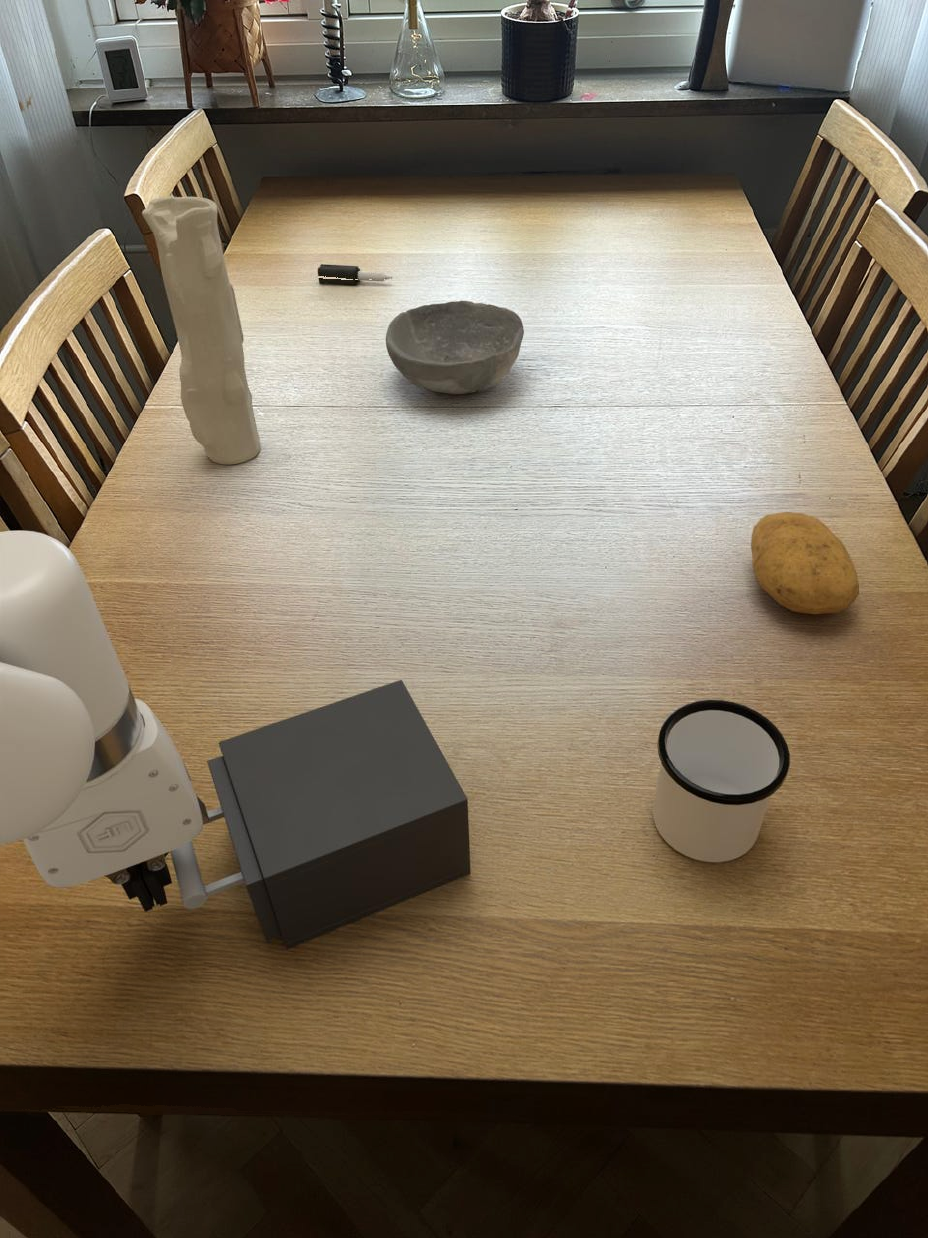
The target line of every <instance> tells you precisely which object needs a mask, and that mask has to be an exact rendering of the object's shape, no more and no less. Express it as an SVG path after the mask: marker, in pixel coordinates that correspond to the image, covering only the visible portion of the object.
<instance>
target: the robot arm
mask: <svg viewBox="0 0 928 1238" xmlns="http://www.w3.org/2000/svg"><path fill="white" fill-rule="evenodd" d="M191 780H192V779H191V776H190V773H189V770H188V769H187V767H186V765H185V762H184V760H183V758H182V756H181V754H180V752H179V750H178V748H177V746H176V744H175V743H174V741H173V740H172V737H171V736H170V734H169V732H168V731H167V729H166V728H165V727H164V725H163V723H162V722H161V720H160V719H159V718H158V717H157V715H156V714H155V713H154V712H153V710H152V709H151V708H150V707H149V706H148V705H147V704H146V703H145V702H144V701H142V700H141V699H139V698H135V696H134V693H133V692H132V689H131V686H130V684H129V682H128V680H127V677H126V674H125V672H124V670H123V667H122V664H121V663H120V660H119V657H118V655H117V653H116V650H115V648H114V645H113V642H112V640H111V638H110V635H109V633H108V630H107V628H106V625H105V622H104V620H103V618H102V615H101V614H100V611H99V608H98V606H97V603H96V601H95V598H94V596H93V594H92V591H91V589H90V587H89V584H88V582H87V579H86V577H85V574H84V572H83V570H82V568H81V566H80V564H79V562H78V560H77V558H76V556H75V555H74V554H73V552H72V551H71V550H70V549H69V548H68V547H67V546H66V545H65V544H64V543H62V542H61V541H59V540H58V539H56V538H54V537H52V536H49V535H47V534H45V533H43V532H37V531H33V530H5V531H0V846H4V845H9V844H13V843H15V842H19V841H23V844H24V845H25V848H26V850H27V852H28V854H29V856H30V858H31V859H32V862H33V864H34V867H35V868H36V870H37V871H38V873H39V875H40V877H41V878H42V879H43V881H44V882H45V883H46V884H47V885H49V886H50V887H52V888H56V889H57V888H59V889H65V888H72V887H76V886H80V885H83V884H85V883H88V882H91V881H95V880H97V879H99V878H100V879H101V878H103V877H104V878H106V877H107V879H109V881H110V882H111V883H112V884H113V885H121V887H122V889H123V891H124V892H125V894H126V897H127V898H128V900H132V899H135V898H137V899H138V901H139V903H140V905H141V907H142V909H143V911H144V913H147V912H149V911H152V910H153V908H154V907H156V906H160V907H162V906H164V905H167V904H169V902H168V898H167V894H166V890H165V887H167V886H169V885H172V884H173V880H172V875H171V873H170V869H169V866H168V864H167V859H166V857H167V856H168V855H169V854H170V851H172V850H174V849H177V848H179V847H181V846H184V845H186V844H187V843H189V842H191V841H192V842H193V841H194V840H195V839H196V838H197V837H198V836H199V835H200V834H201V833H202V832H203V829H204V825H206V823H207V822H208V821H209V817H208V813H207V812H208V810H207V807H206V804H205V803H204V802H203V801H202V800H201V798H199V796H198V795H197V794H196V791H195V788H194V786H193V784H192V782H191ZM207 824H208V823H207Z"/></svg>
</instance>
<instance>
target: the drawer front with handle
mask: <svg viewBox="0 0 928 1238" xmlns="http://www.w3.org/2000/svg"><path fill="white" fill-rule="evenodd" d="M206 762H207V766H208V769H209V773H210V777H211V779H212V782H213V785H214V788H215V792H216V794H217V798H218V802H219V804H220V806H219V807H216V808H214V809H211V810H207V813H208V817H209V821H208V822H207V823H206V824H209V823H212V822H215V821H218V820H221V819H222V818H224V820H225V824H226V827H227V830H228V834H229V836H230V840H231V843H232V846H233V850H234V852H235V856H236V859H237V862H238V865H239V868H240V871H239V872H237V873H234V874H232V875H229V876H227V877H224V878H221V879H218V880H216V881H213V882H211V883H208V884H206V885H204V879H203V877H202V873H201V870H200V866H199V862H198V859H197V855H196V851H195V847H194V845H193V840H192V841H191V842H189V843H187V844H186V845H184V846H181V847H179V848H177V849H174V850H172V851H170V852H169V854H170V856H171V857H170V858H171V861H172V865H173V868H174V873H175V877H176V880H177V885H178V888H179V892H180V896H181V901H182V904H183V907H184V908H185V909H188V910H194V909H199V908H200V907H202V906H204V905H205V904H206V903H207V900H208V897H211V896H214V895H215V894H219V893H222V892H224V891H226V890H229V889H231V888H234V887H236V886H237V887H238V886H239V885H242V884H244V885H245V888H246V890H247V893H248V896H249V899H250V902H251V904H252V908H253V910H254V913H255V916H256V918H257V921H258V923H259V926H260V930H261V933H262V936H263V938H264V941H265V943H267V944H268V943H270V942H273V941H274V940H277V939H280V938H283V937H282V934H281V931H280V928H279V925H278V922H277V919H276V915H275V912H274V909H273V906H272V903H271V900H270V897H269V894H268V891H267V888H266V885H265V882H264V879H263V876H262V873H261V870H260V867H259V864H258V861H257V858H256V855H255V852H254V849H253V846H252V843H251V839H250V836H249V833H248V830H247V827H246V824H245V821H244V818H243V815H242V812H241V809H240V806H239V803H238V800H237V797H236V794H235V791H234V788H233V785H232V782H231V779H230V776H229V773H228V770H227V767H226V764H225V761H224V758H223V755H220V756H218V757H214V758H212V759H209V760H207V761H206ZM206 824H205V825H206Z"/></svg>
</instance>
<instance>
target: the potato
mask: <svg viewBox="0 0 928 1238" xmlns="http://www.w3.org/2000/svg"><path fill="white" fill-rule="evenodd" d="M750 549H751V557H752V568H753V573H754V575H755V580H756V581H757V582H758V584H759V586H760V587H761V589H762V590H764V591H765V592H766V593H767V594H768V595H769V596H771V597H772V598H773V599H774V600H775V601H776V602H777V604H779V605H780V606H783V607H785V608H787V609H789V610H790V611H792V612H795V613H801V614H808V615H809V614H810V615H820V614H821V615H822V614H831V613H840V612H842V611H843V610H844V609H846V608H847V607H849V606H850V605H852V604H853V603H855V601H856V600H857V598H858V597H859V596H860V584H859V577H858V571H857V570H856V567H855V564H854V562H853V560H852V558H851V556H850V554H849V552H848V550H847V549H846V547H845V545H844V543H843V542H842V540H841V539H840V538H839V537H838V536H837V535H836V534H834V532H833V531H832V530H831V529H830V528H829V526H827V525H826V524H825V523H824V522H823V521H821V520H820V519H819V518H818V517H814V516H811V515H809V514H804V513H803V512H791V511H784V512H777V513H771V514H766V515H764V516H762V517H761V518H760V519H759V520H758V522H757V523H756V524H755V525H754V526H753V528H752V532H751V541H750Z"/></svg>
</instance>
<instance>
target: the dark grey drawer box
mask: <svg viewBox="0 0 928 1238" xmlns="http://www.w3.org/2000/svg"><path fill="white" fill-rule="evenodd" d="M218 745H219V750H220V751H221V754H222V755H221V756H223V758H224V761H225V764H226V767H227V770H228V773H229V776H230V779H231V782H232V785H233V788H234V791H235V794H236V797H237V800H238V803H239V806H240V809H241V812H242V815H243V818H244V821H245V824H246V827H247V830H248V833H249V836H250V839H251V843H252V846H253V849H254V852H255V855H256V858H257V861H258V864H259V867H260V870H261V873H262V876H263V879H264V882H265V885H266V888H267V891H268V894H269V897H270V900H271V903H272V906H273V909H274V912H275V915H276V919H277V922H278V925H279V928H280V931H281V934H282V937H281V938H282V940H283V943H284V946H285V948H286V950H289V949H292V948H294V947H296V946H299V945H301V944H305V943H307V942H309V941H311V940H314V939H316V938H318V937H320V936H323V935H326V934H328V933H329V932H333V931H336V930H338V929H340V928H342V927H345V926H347V925H349V924H350V925H351V923H354V922H356V921H359V920H361V919H363V918H366V917H368V916H371V915H374V914H377V913H379V912H381V911H384V910H386V909H388V908H390V907H393V906H396V905H397V904H400V903H402V902H405V901H407V900H410V899H413V898H414V897H417V896H420V895H422V894H425V893H428V892H429V891H432V890H434V889H436V888H439V887H441V886H444V885H445V884H448V883H450V882H453V881H455V880H458V879H460V878H463V877H465V876H468V875H470V874H471V873H472V872H471V871H472V870H471V851H470V849H471V848H470V824H469V801H468V800H469V799H468V797H467V795H466V794H465V792H464V790H463V788H462V786H461V784H460V783H459V781H458V779H457V777H456V776H455V773H454V772H453V769H452V767H451V766H450V765H449V763H448V761H447V759H446V757H445V756H444V754H443V752H442V750H441V748H440V746H439V744H438V743H437V741H436V739H435V736H433V734H432V732H431V730H430V729H429V726H428V724H427V722H426V720H425V719H424V717H423V715H422V714H421V712H420V710H419V708H418V707H417V705H416V703H415V701H414V699H413V698H412V696H411V694H410V692H409V690H408V688H407V686H406V684H405V682H404V681H403V679H398V680H396V681H393V682H391V683H387V684H384V685H382V686H379V687H376V688H373V689H370V690H367V691H363V692H361V693H358V694H354V695H353V696H349V697H347V698H343V699H341V700H337V701H334V702H332V703H329V704H326V705H323V706H320V707H317V708H314V709H311V710H309V711H305V712H302V713H299V714H296V715H294V716H291V717H288V718H285V719H282V720H279V721H276V722H273V723H270V724H267V725H265V726H261V727H258V728H256V729H253V730H250V731H247V732H245V733H241V734H238V735H235V736H233V737H230V738H229V737H228V738H226V739H224V740H221V741H218Z"/></svg>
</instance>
